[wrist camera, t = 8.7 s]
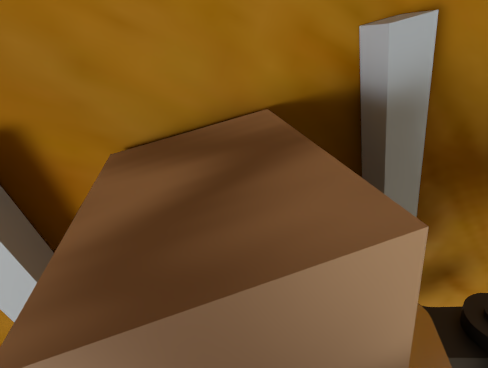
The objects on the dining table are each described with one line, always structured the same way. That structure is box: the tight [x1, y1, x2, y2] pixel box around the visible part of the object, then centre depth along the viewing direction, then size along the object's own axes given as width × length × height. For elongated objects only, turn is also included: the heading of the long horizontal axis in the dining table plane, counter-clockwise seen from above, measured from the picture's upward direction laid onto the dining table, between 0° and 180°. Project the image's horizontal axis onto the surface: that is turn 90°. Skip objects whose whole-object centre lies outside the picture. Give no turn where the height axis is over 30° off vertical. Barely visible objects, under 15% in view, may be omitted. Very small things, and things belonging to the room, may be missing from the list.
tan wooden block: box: [0, 109, 429, 368], centre depth 9 cm, size 6×10×7 cm, turn 13°
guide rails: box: [0, 10, 438, 322], centre depth 12 cm, size 16×16×2 cm
